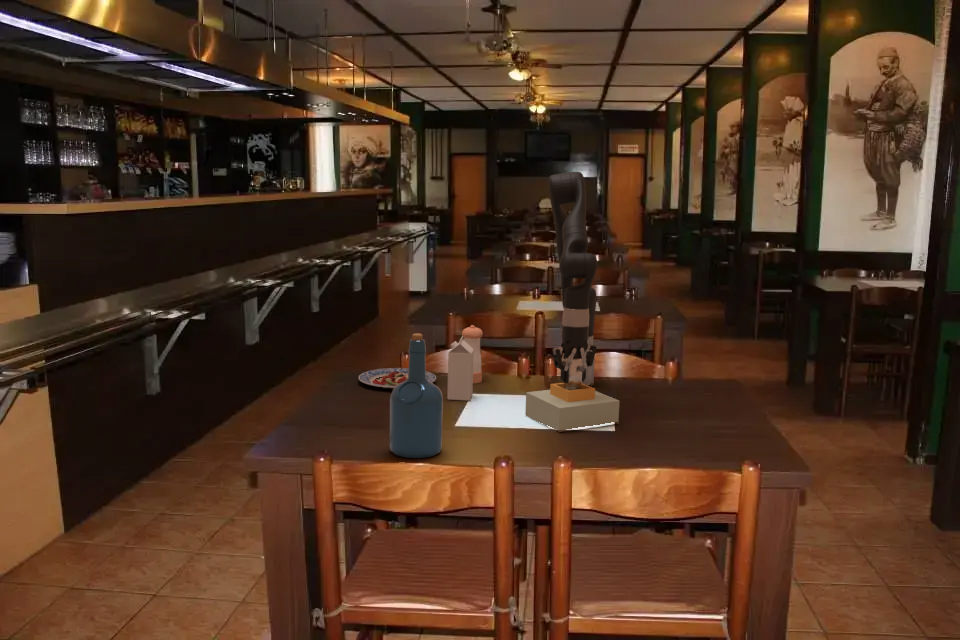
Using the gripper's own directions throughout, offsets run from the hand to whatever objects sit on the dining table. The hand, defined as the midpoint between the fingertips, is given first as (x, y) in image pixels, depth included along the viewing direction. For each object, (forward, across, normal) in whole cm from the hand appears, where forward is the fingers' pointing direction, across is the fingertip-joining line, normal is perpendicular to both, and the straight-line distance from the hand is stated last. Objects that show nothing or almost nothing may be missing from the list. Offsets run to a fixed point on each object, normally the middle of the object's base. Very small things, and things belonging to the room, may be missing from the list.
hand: (572, 381), depth 238 cm
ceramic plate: (+12, +30, -59) cm, 67 cm away
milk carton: (+12, +19, -34) cm, 41 cm away
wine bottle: (+12, +52, +8) cm, 54 cm away
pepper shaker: (+12, +6, -52) cm, 54 cm away
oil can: (+3, 0, +1) cm, 3 cm away
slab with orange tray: (+11, 0, 0) cm, 11 cm away
